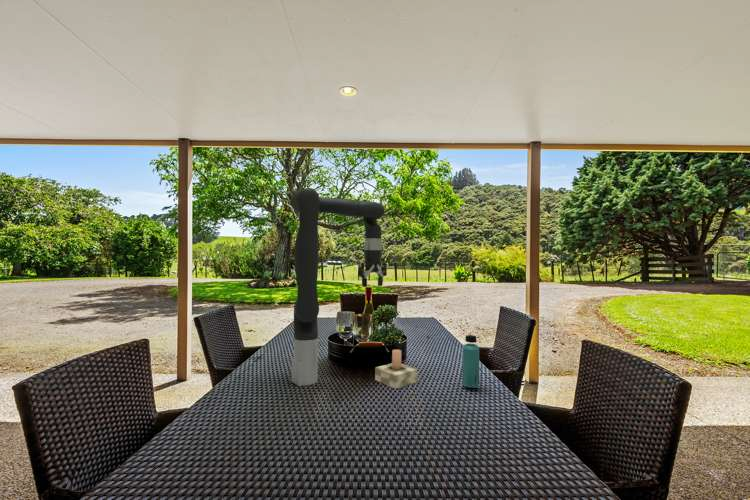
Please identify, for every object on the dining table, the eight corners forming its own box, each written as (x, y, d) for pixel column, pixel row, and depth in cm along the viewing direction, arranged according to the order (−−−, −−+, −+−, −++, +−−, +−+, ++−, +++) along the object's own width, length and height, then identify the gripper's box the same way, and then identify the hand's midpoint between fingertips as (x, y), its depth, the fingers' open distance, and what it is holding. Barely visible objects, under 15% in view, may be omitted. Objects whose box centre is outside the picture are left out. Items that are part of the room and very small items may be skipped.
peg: (396, 383, 145) (396, 352, 145) (389, 380, 148) (390, 350, 148) (402, 381, 147) (403, 351, 147) (396, 378, 150) (397, 349, 150)
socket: (395, 388, 139) (395, 375, 139) (375, 379, 148) (375, 367, 148) (417, 381, 146) (417, 368, 146) (397, 373, 156) (397, 361, 156)
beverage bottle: (475, 393, 136) (476, 338, 136) (458, 388, 140) (459, 335, 140) (482, 388, 141) (482, 335, 141) (465, 383, 145) (466, 332, 145)
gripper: (365, 249, 153) (364, 288, 153) (390, 249, 162) (390, 286, 162) (354, 248, 159) (354, 286, 159) (379, 249, 168) (379, 284, 168)
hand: (372, 286), depth 161 cm, fingers open, 8 cm apart
